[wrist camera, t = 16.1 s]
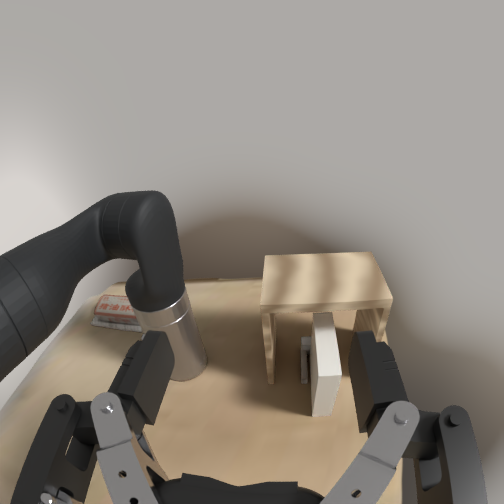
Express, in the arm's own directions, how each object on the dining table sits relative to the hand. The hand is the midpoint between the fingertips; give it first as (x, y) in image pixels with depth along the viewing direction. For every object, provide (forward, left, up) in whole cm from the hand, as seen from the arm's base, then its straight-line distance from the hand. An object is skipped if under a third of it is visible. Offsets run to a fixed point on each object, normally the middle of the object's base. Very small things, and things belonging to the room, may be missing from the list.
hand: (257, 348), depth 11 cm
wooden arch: (+6, +26, -33) cm, 42 cm away
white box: (+6, +19, -33) cm, 39 cm away
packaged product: (-37, +36, -34) cm, 62 cm away
